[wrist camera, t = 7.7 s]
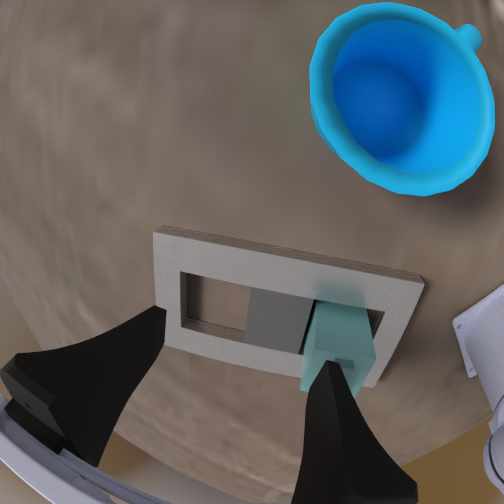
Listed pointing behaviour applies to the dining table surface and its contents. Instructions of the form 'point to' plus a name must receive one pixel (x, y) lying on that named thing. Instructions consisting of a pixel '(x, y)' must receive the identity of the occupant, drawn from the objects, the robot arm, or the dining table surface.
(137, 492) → the robot arm
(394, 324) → the panel
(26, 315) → the dining table surface
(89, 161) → the dining table surface
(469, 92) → the mug
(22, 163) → the dining table surface
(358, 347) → the plug
